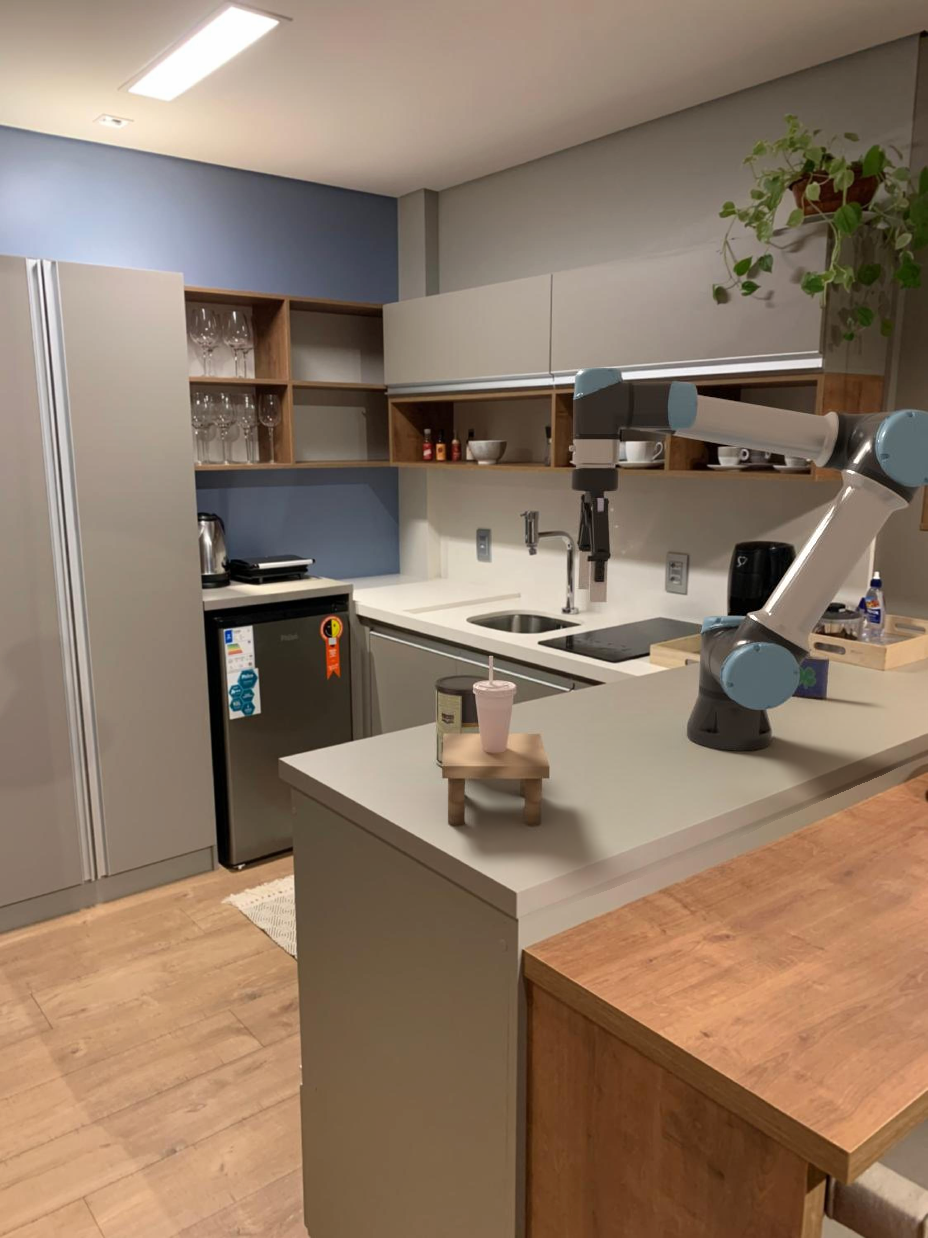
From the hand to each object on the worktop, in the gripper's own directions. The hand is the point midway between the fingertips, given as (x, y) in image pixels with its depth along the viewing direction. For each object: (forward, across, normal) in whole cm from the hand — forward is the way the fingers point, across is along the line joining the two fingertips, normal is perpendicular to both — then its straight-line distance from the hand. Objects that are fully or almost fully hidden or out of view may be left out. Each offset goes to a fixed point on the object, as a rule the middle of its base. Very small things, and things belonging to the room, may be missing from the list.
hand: (591, 595), depth 156 cm
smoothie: (+20, +22, -17) cm, 34 cm away
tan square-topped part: (+29, +22, -17) cm, 40 cm away
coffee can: (+29, +1, -21) cm, 36 cm away
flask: (+29, -42, +53) cm, 74 cm away
